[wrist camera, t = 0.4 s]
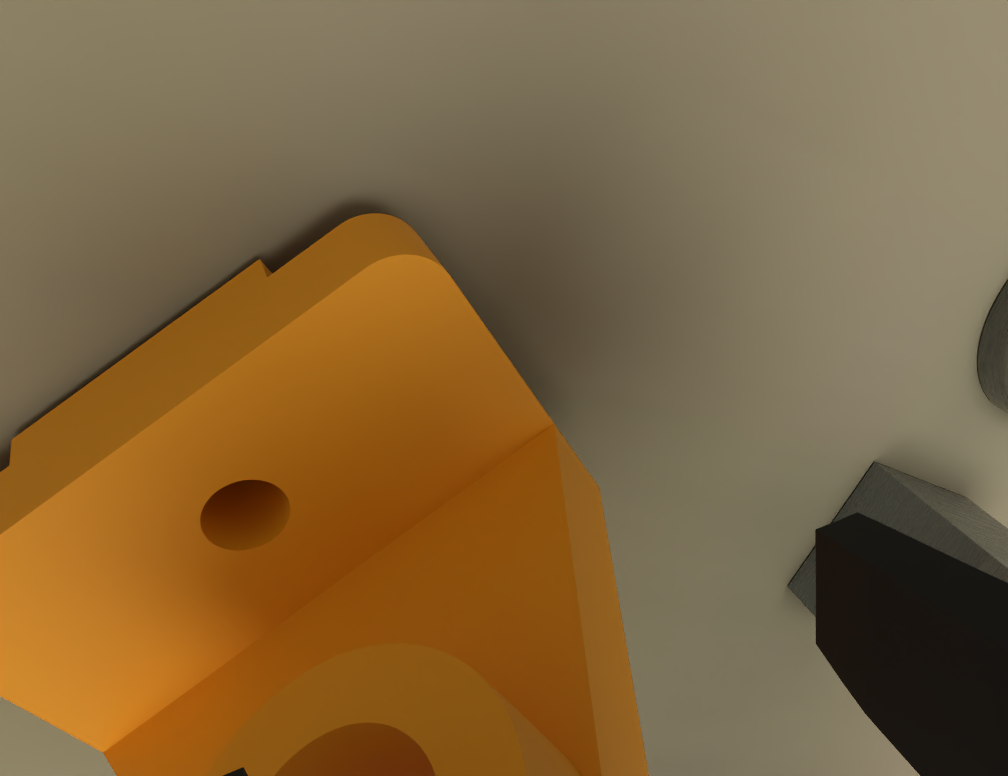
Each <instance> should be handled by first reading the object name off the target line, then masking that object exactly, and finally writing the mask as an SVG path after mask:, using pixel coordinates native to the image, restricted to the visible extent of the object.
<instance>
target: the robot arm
mask: <svg viewBox="0 0 1008 776" xmlns="http://www.w3.org/2000/svg"><path fill="white" fill-rule="evenodd" d="M816 644H817V646H818V647H819V649H820V650H821V652H822V653H823V655H824V656H825V657H826V659H827V660H828V662H829V663H830V665H831V666H832V668H833V669H834V671H835V672H836V674H837V675H838V676H839V678H840V679H841V681H842V682H843V684H844V685H845V686H846V688H847V689H848V691H849V692H850V693H851V695H852V696H853V697H854V699H855V700H856V702H857V703H858V704H859V706H860V707H861V708H862V710H863V711H864V713H865V714H866V715H867V716H868V717H869V718H870V720H871V721H872V722H873V723H874V724H875V725H876V726H877V728H878V729H879V730H880V731H881V732H882V733H883V734H884V735H885V737H886V738H887V739H888V740H889V741H890V742H891V743H892V744H893V746H894V747H895V748H896V749H897V750H898V751H899V752H900V753H901V754H902V756H903V757H904V758H905V759H906V760H907V761H908V762H909V763H910V765H911V766H912V767H913V768H914V769H915V770H916V771H917V772H918V773H919V775H920V776H1008V583H1007V582H1005V581H1003V580H1001V579H998V578H996V577H994V576H992V575H990V574H988V573H985V572H983V571H981V570H979V569H977V568H975V567H973V566H970V565H968V564H966V563H964V562H962V561H960V560H958V559H956V558H953V557H951V556H949V555H947V554H945V553H943V552H941V551H939V550H937V549H935V548H932V547H930V546H928V545H926V544H924V543H922V542H920V541H918V540H916V539H914V538H912V537H909V536H907V535H905V534H903V533H901V532H899V531H897V530H895V529H893V528H891V527H889V526H886V525H884V524H882V523H880V522H878V521H876V520H874V519H871V518H869V517H867V516H865V515H863V514H860V513H858V512H857V513H855V514H852V515H850V516H848V517H845V518H843V519H840V520H838V521H835V522H833V523H831V524H828V525H826V526H823V527H821V528H819V529H816ZM223 776H248V775H247V773H246V771H245V769H244V767H242V768H240V769H237V770H235V771H232V772H230V773H228V774H225V775H223Z"/></svg>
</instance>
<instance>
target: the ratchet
mask: <svg viewBox="0 0 1008 776" xmlns="http://www.w3.org/2000/svg"><path fill="white" fill-rule="evenodd" d="M978 374H979V379H980V383H981V386H982V388H983V391H984V392H985V394H986V396H987V397H988V399H989V400H990V401H991V402H992V403H993V404H994V405H996V406H998V407H999V408H1001V409H1002V410H1004V411H1006V412H1007V413H1008V282H1007V283H1006V285H1005V287H1004V288H1003V290H1002V291H1001V293H1000V294H999V296H998V298H997V300H996V302H995V304H994V305H993V307H992V309H991V312H990V314H989V316H988V319H987V321H986V324H985V327H984V330H983V333H982V336H981V341H980V346H979V353H978Z"/></svg>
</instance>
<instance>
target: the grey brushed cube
mask: <svg viewBox="0 0 1008 776" xmlns="http://www.w3.org/2000/svg"><path fill="white" fill-rule="evenodd" d="M857 512H858V513H860V514H863V515H865V516H867V517H869V518H871V519H874V520H876V521H878V522H880V523H882V524H884V525H886V526H889V527H891V528H893V529H895V530H897V531H899V532H901V533H903V534H905V535H907V536H909V537H912V538H914V539H916V540H918V541H920V542H922V543H924V544H926V545H928V546H930V547H932V548H935V549H937V550H939V551H941V552H943V553H945V554H947V555H949V556H951V557H953V558H956V559H958V560H960V561H962V562H964V563H966V564H968V565H970V566H973V567H975V568H977V569H979V570H981V571H983V572H985V573H988V574H990V575H992V576H994V577H996V578H998V579H1001V580H1003V581H1005V582H1007V583H1008V529H1007V528H1006V527H1005V526H1003V525H1002V524H1001V523H999V522H998V521H997V520H995V519H994V518H993V517H991V516H990V515H989V514H988V513H986V512H985V511H984V510H982V509H981V508H980V507H978V506H977V505H976V504H974V503H973V502H972V501H970V500H969V499H968V498H966V497H964V496H961V495H958V494H956V493H953V492H951V491H948V490H946V489H943V488H940V487H938V486H935V485H933V484H930V483H928V482H925V481H922V480H920V479H917V478H915V477H912V476H910V475H907V474H904V473H902V472H899V471H897V470H894V469H891V468H889V467H886V466H884V465H881V464H879V463H876V462H874V464H873V465H872V467H871V468H870V469H869V471H868V472H867V474H866V475H865V477H864V478H863V479H862V481H861V482H860V484H859V485H858V487H857V488H856V489H855V491H854V492H853V494H852V495H851V497H850V498H849V499H848V501H847V502H846V504H845V505H844V507H843V508H842V509H841V511H840V512H839V514H838V515H837V517H836V518H835V519H834V521H833V522H835V521H838V520H840V519H843V518H845V517H848V516H850V515H852V514H855V513H857ZM833 522H832V523H833ZM788 587H789V588H790V590H791V591H792V592H793V593H794V594H795V595H796V596H797V597H798V598H799V599H800V600H801V601H802V603H803V604H804V605H805V606H806V607H807V608H808V609H809V610H810V611H811V612H812V613H813V615H814V616H815V617H816V547H815V548H814V549H813V551H812V552H811V554H810V555H809V557H808V558H807V559H806V561H805V562H804V564H803V565H802V567H801V568H800V570H799V571H798V572H797V574H796V575H795V577H794V578H793V580H792V581H791V582H790V584H789V585H788Z"/></svg>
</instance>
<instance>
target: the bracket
mask: <svg viewBox="0 0 1008 776" xmlns="http://www.w3.org/2000/svg"><path fill="white" fill-rule="evenodd" d="M0 696H1V697H3V698H5V699H6V700H8V701H10V702H12V703H14V704H16V705H17V706H19V707H21V708H23V709H25V710H26V711H28V712H30V713H32V714H34V715H36V716H37V717H39V718H41V719H43V720H45V721H46V722H48V723H50V724H52V725H54V726H56V727H57V728H59V729H61V730H63V731H65V732H67V733H68V734H70V735H72V736H74V737H76V738H77V739H79V740H81V741H83V742H85V743H87V744H88V745H90V746H92V747H94V748H96V749H97V750H99V751H101V752H103V753H104V755H105V757H106V758H107V760H108V762H109V763H110V765H111V767H112V768H113V770H114V772H115V773H116V775H117V776H223V775H225V774H228V773H230V772H232V771H235V770H237V769H240V768H242V767H244V769H245V771H246V773H247V775H248V776H649V774H648V768H647V762H646V756H645V751H644V745H643V739H642V733H641V727H640V721H639V716H638V710H637V704H636V698H635V692H634V687H633V681H632V675H631V669H630V663H629V658H628V652H627V646H626V640H625V634H624V628H623V623H622V617H621V611H620V605H619V599H618V594H617V588H616V582H615V576H614V570H613V564H612V559H611V553H610V547H609V541H608V535H607V530H606V524H605V518H604V512H603V506H602V501H601V495H600V489H599V487H598V485H597V484H596V482H595V481H594V480H593V478H592V477H591V475H590V474H589V472H588V471H587V470H586V468H585V467H584V465H583V464H582V462H581V461H580V460H579V458H578V457H577V455H576V454H575V453H574V451H573V450H572V448H571V447H570V445H569V444H568V443H567V441H566V440H565V438H564V437H563V435H562V434H561V433H560V431H559V430H558V428H557V427H556V426H555V424H554V423H553V421H552V420H551V418H550V417H549V416H548V414H547V413H546V411H545V410H544V408H543V407H542V406H541V404H540V403H539V401H538V400H537V398H536V397H535V396H534V394H533V393H532V391H531V390H530V389H529V387H528V386H527V384H526V383H525V381H524V380H523V379H522V377H521V376H520V374H519V373H518V371H517V370H516V369H515V367H514V366H513V364H512V363H511V362H510V360H509V359H508V357H507V356H506V354H505V353H504V352H503V350H502V349H501V347H500V346H499V344H498V343H497V342H496V340H495V339H494V337H493V336H492V335H491V333H490V332H489V330H488V329H487V327H486V326H485V325H484V323H483V322H482V320H481V319H480V317H479V316H478V315H477V313H476V312H475V310H474V309H473V308H472V306H471V305H470V303H469V302H468V300H467V299H466V298H465V296H464V295H463V293H462V292H461V290H460V289H459V288H458V286H457V285H456V283H455V282H454V280H453V279H452V278H451V276H450V275H449V274H448V272H447V271H446V270H445V269H444V267H443V266H442V265H441V263H440V262H439V261H438V260H437V258H436V257H435V256H434V255H433V253H432V252H431V251H430V249H429V248H428V247H427V246H426V244H425V243H424V242H423V241H422V239H421V238H420V237H419V236H418V234H417V233H416V232H415V230H414V229H413V228H412V227H411V226H410V225H408V224H407V223H406V222H404V221H402V220H401V219H399V218H397V217H394V216H391V215H387V214H380V213H371V214H364V215H359V216H356V217H353V218H351V219H349V220H347V221H345V222H343V223H342V224H340V225H339V226H337V227H336V228H334V229H333V230H332V231H330V232H329V233H328V234H326V235H325V236H324V237H322V238H321V239H319V240H318V241H317V242H315V243H314V244H313V245H311V246H310V247H308V248H307V249H306V250H304V251H303V252H302V253H300V254H299V255H297V256H296V257H295V258H293V259H292V260H291V261H289V262H288V263H287V264H285V265H284V266H282V267H281V268H280V269H278V270H277V271H276V272H274V273H273V274H272V273H271V272H270V270H269V269H268V268H267V267H266V266H265V265H264V264H263V262H262V261H261V260H260V259H259V260H257V261H256V262H255V263H253V264H252V265H250V266H249V267H248V268H246V269H245V270H244V271H242V272H241V273H239V274H238V275H237V276H235V277H234V278H233V279H231V280H230V281H229V282H227V283H226V284H224V285H223V286H222V287H220V288H219V289H218V290H216V291H215V292H213V293H212V294H211V295H209V296H208V297H207V298H205V299H204V300H202V301H201V302H200V303H198V304H197V305H196V306H194V307H193V308H192V309H190V310H189V311H187V312H186V313H185V314H183V315H182V316H181V317H179V318H178V319H176V320H175V321H174V322H172V323H171V324H170V325H168V326H167V327H165V328H164V329H163V330H161V331H160V332H159V333H157V334H156V335H154V336H153V337H152V338H150V339H149V340H148V341H146V342H145V343H144V344H142V345H141V346H139V347H138V348H137V349H135V350H134V351H133V352H131V353H130V354H128V355H127V356H126V357H124V358H123V359H122V360H120V361H119V362H117V363H116V364H115V365H113V366H112V367H111V368H109V369H108V370H107V371H105V372H104V373H102V374H101V375H100V376H98V377H97V378H96V379H94V380H93V381H91V382H90V383H89V384H87V385H86V386H85V387H83V388H82V389H80V390H79V391H78V392H76V393H75V394H74V395H72V396H71V397H70V398H68V399H67V400H65V401H64V402H63V403H61V404H60V405H59V406H57V407H56V408H54V409H53V410H52V411H50V412H49V413H48V414H46V415H45V416H43V417H42V418H41V419H39V420H38V421H37V422H35V423H34V424H32V425H31V426H30V427H28V428H27V429H26V430H24V431H23V432H22V433H20V434H19V435H17V436H16V437H15V438H13V439H12V440H11V452H10V466H8V467H7V468H5V469H4V470H3V471H1V472H0Z"/></svg>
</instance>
